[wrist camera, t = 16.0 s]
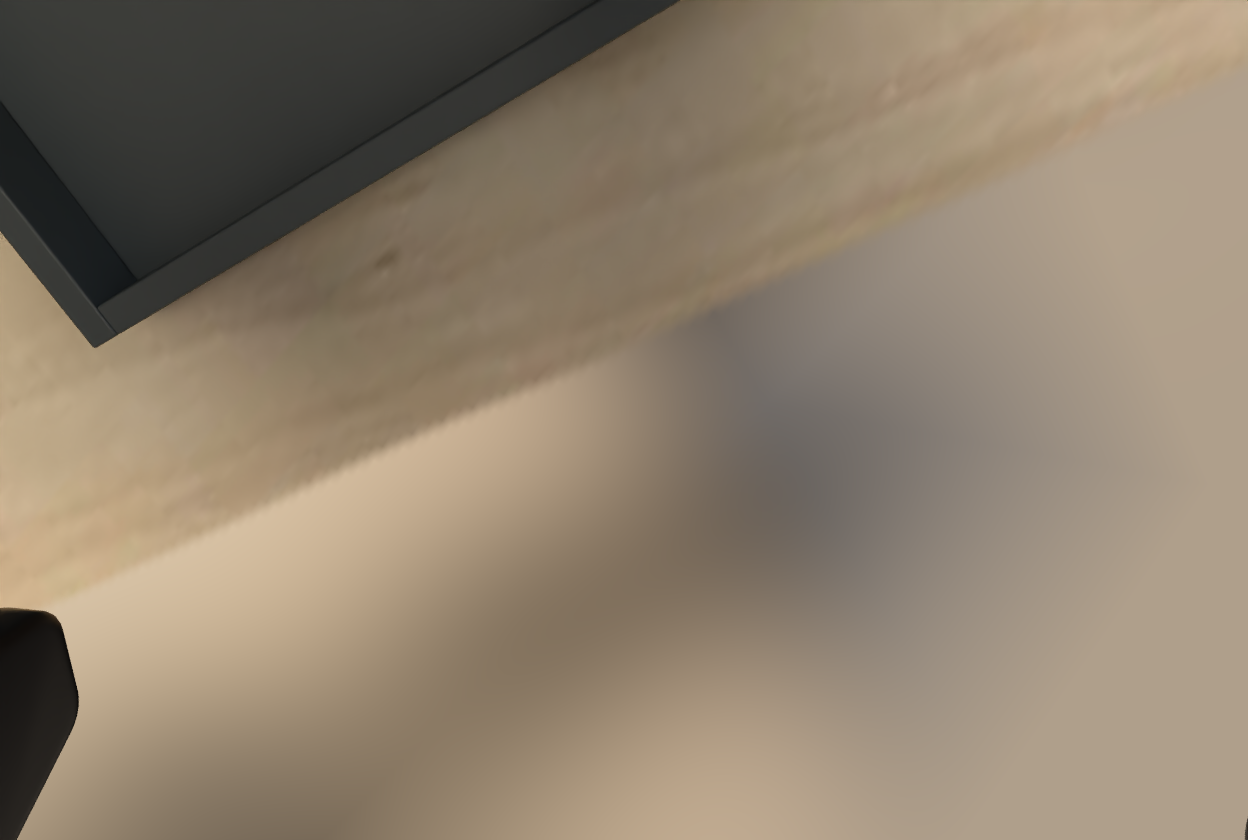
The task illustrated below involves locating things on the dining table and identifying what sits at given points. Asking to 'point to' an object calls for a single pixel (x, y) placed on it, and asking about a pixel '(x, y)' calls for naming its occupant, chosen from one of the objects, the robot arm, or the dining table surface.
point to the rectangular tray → (239, 122)
